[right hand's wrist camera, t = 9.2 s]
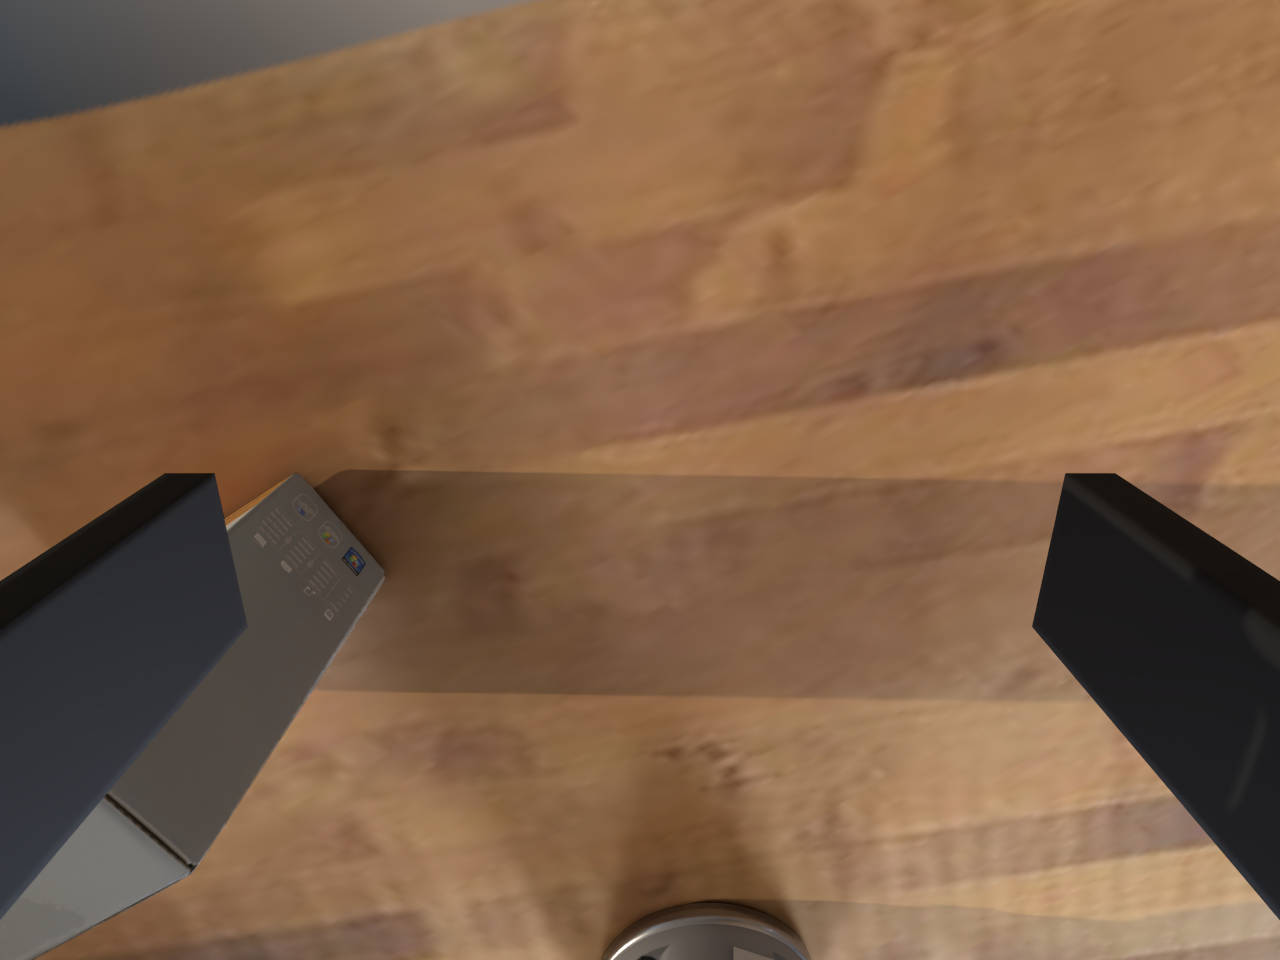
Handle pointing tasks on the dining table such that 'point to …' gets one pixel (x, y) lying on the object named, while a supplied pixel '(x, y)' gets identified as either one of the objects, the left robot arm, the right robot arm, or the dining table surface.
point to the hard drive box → (211, 723)
